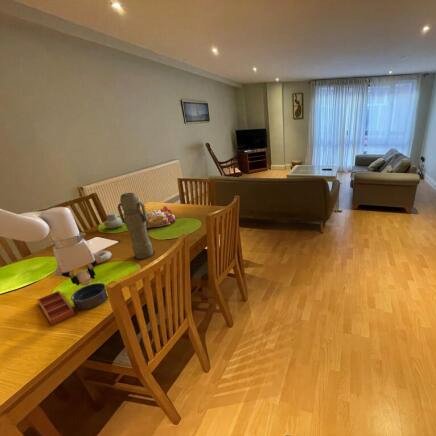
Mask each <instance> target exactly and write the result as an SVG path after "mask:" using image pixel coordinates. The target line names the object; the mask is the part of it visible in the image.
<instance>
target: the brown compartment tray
mask: <svg viewBox="0 0 436 436" xmlns="http://www.w3.org/2000/svg"><path fill="white" fill-rule="evenodd" d="M36 301H37V303H38V304H39V306H40V308H41V309H42V311H43V313H44V315H45V316H46V318H47V320H48V322H49V323H50V325H51V326H54V325H57V324H58V323H60V322H62V321H64V320H66V319H68V318H70V317H73V316H74V315H76V313H75V310H74V308H73V307H72V306H71V304H70V303H69V302H68V300H67V299H66V298H65V296H64V295H63V294H62V292H61V291H60V290H57V291H55V292H52V293H50V294H47V295H45V296H42V297H40V298H38V299H36Z"/></svg>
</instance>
